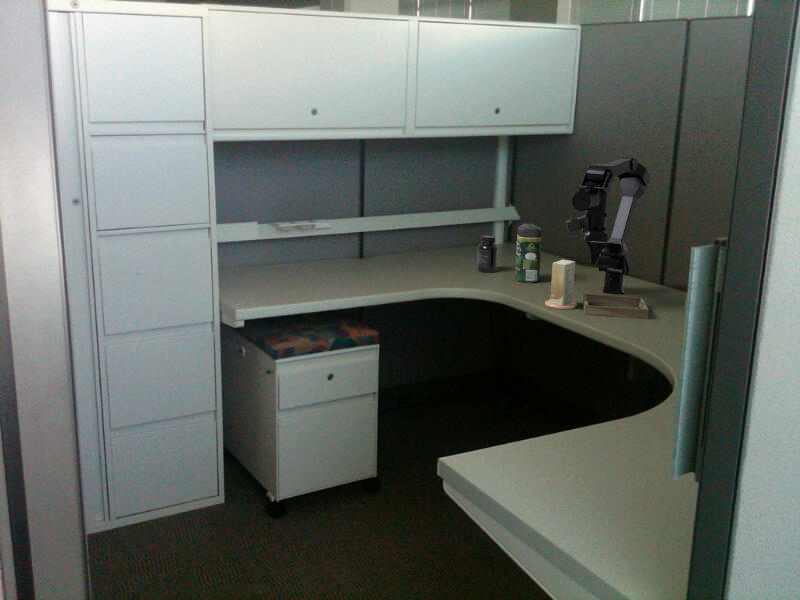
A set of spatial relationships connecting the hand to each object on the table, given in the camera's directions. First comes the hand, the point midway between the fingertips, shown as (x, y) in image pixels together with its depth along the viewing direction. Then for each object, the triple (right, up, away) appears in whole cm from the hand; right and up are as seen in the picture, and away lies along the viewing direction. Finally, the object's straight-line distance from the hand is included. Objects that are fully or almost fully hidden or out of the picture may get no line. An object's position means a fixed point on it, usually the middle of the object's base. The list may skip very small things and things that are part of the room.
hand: (592, 260), depth 237 cm
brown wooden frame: (+4, -14, -8) cm, 17 cm away
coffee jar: (-15, -5, +28) cm, 32 cm away
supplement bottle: (-27, -2, +41) cm, 49 cm away
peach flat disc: (-10, -13, -4) cm, 17 cm away
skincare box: (-10, -13, -4) cm, 17 cm away
